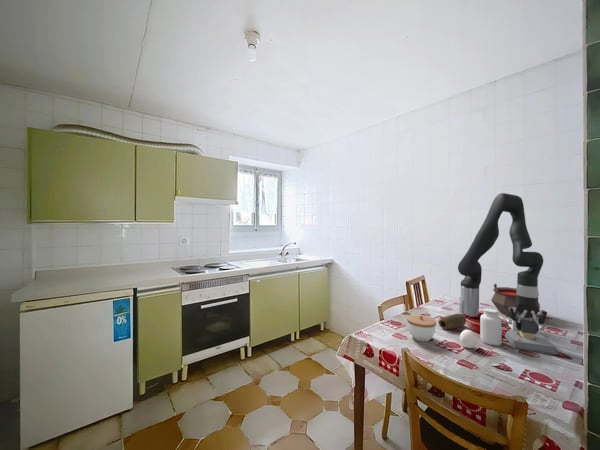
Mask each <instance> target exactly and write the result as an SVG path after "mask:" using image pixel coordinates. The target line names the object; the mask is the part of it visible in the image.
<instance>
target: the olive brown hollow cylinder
mask: <svg viewBox="0 0 600 450" xmlns="http://www.w3.org/2000/svg"><path fill="white" fill-rule="evenodd" d="M466 324H467V317H465V316H464V315H462V314H460V313H455V314H454V313H453V314H450V315H447V316H444V317H442V318H440V319H439V320H438V325H439V327H440V328H441V329H444V330H452V329H456V328H460V327H463V326H465V325H466Z"/></svg>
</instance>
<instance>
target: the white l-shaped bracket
mask: <svg viewBox="0 0 600 450" xmlns="http://www.w3.org/2000/svg"><path fill="white" fill-rule="evenodd" d="M511 320H512V319H511ZM507 325H508V327H509V328H512V329H513V330H518V329H517V328H516V321H513V320H512V321H511V323H508V324H507Z"/></svg>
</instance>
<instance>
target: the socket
mask: <svg viewBox="0 0 600 450" xmlns="http://www.w3.org/2000/svg"><path fill="white" fill-rule="evenodd" d="M502 328H505V326H502ZM510 328H511V327H510ZM504 338H505V339H506V340H507V341H508V343H509V344H510V345H511V346H512V347H513V348H514V349H517V350H525V351H532V352H537V353H545V354H550V355H551V354H552V355H556V354H557V353H556V350H557V347H556V345H554V344H553V343H551V341H549V340H548V339H547V338H546V337H544V336H543V335H542V334H541V333H539V331H538V332H537V334H535V336H534V339H528V338H522V337H521V336H520V331H519V330H513V329H512V328H511V329H510V330H509V331H507V332H506V334H505V337H504Z"/></svg>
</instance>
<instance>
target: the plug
mask: <svg viewBox="0 0 600 450" xmlns="http://www.w3.org/2000/svg"><path fill="white" fill-rule="evenodd" d="M520 323H521V331H520V336H521V337H522V338H528V339H534V336H535V334H537V323H536V322H534V320H532V318H523V319H522V320H521V322H520Z"/></svg>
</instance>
